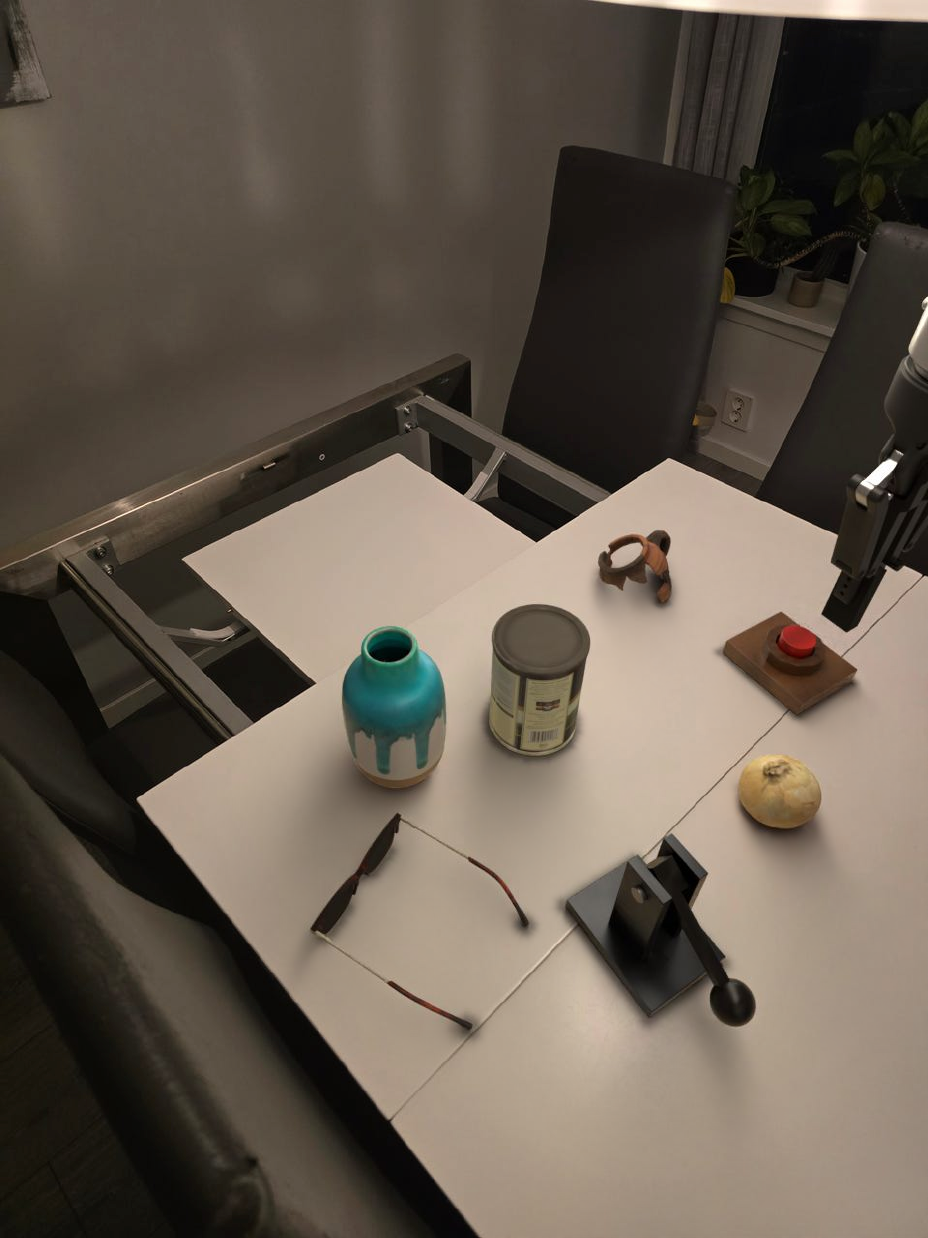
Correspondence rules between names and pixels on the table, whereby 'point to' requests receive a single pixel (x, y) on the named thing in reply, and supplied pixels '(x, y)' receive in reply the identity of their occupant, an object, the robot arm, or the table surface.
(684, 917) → the lever
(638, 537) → the pottery mug
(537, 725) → the coffee can
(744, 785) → the onion
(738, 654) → the button block
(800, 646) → the button
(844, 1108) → the table surface
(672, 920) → the bracket
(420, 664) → the vase
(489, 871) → the sunglasses
